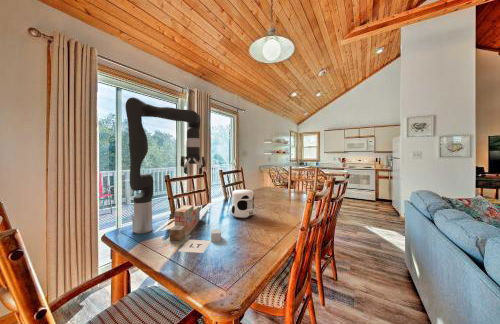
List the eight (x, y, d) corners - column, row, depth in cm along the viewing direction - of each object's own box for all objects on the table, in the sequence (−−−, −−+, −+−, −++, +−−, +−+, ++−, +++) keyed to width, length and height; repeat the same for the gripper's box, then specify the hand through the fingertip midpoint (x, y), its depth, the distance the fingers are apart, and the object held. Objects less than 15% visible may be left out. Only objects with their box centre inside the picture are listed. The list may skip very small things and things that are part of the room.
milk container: (233, 211, 151) (234, 188, 150) (256, 213, 149) (256, 189, 148) (228, 219, 134) (228, 193, 133) (253, 221, 132) (253, 194, 131)
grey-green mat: (161, 244, 98) (161, 243, 98) (172, 234, 109) (172, 233, 108) (183, 245, 97) (183, 244, 97) (191, 236, 108) (191, 234, 107)
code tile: (178, 252, 90) (178, 251, 90) (188, 240, 102) (188, 239, 102) (203, 254, 89) (203, 252, 89) (211, 241, 101) (211, 240, 101)
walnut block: (169, 241, 100) (169, 229, 100) (174, 236, 106) (174, 225, 105) (180, 241, 99) (180, 230, 99) (184, 236, 105) (184, 225, 105)
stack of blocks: (191, 219, 135) (191, 201, 134) (199, 219, 134) (199, 201, 133) (174, 231, 113) (174, 210, 113) (184, 232, 112) (184, 211, 112)
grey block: (211, 243, 100) (211, 233, 100) (211, 238, 105) (211, 229, 104) (221, 242, 101) (221, 233, 100) (220, 238, 106) (220, 229, 105)
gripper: (178, 146, 110) (178, 174, 111) (202, 146, 109) (202, 175, 110) (184, 146, 118) (184, 173, 119) (207, 146, 116) (207, 173, 117)
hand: (193, 174), depth 114 cm, fingers open, 8 cm apart
